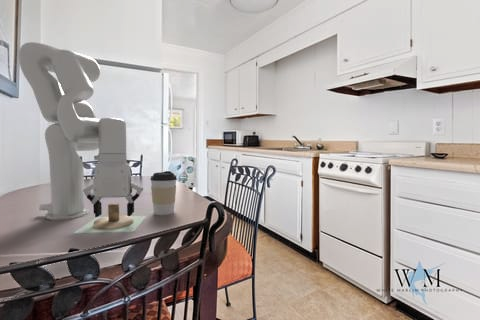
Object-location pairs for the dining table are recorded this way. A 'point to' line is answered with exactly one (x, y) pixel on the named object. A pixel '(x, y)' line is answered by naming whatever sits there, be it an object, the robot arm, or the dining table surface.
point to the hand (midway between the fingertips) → (114, 215)
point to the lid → (113, 219)
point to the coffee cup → (163, 192)
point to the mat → (130, 228)
